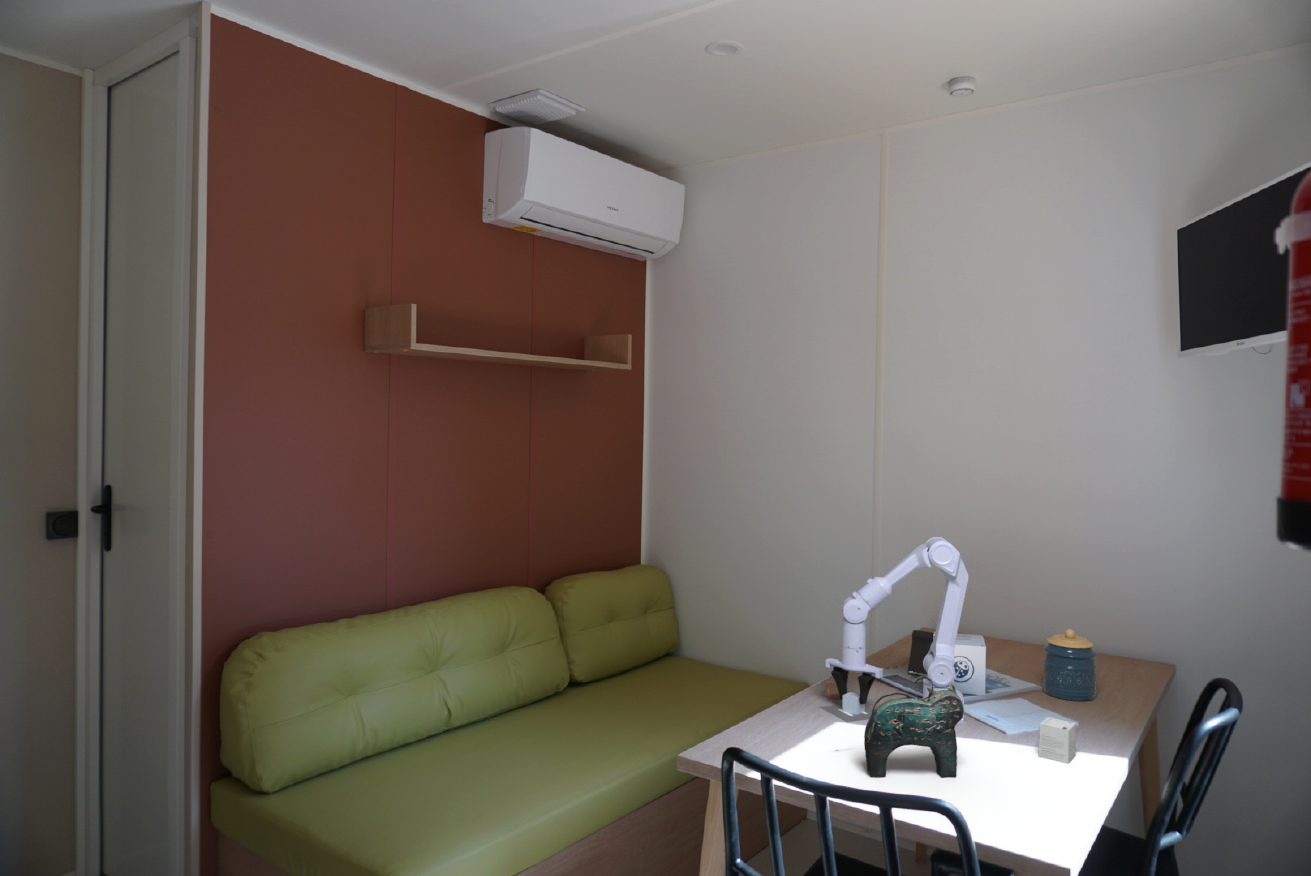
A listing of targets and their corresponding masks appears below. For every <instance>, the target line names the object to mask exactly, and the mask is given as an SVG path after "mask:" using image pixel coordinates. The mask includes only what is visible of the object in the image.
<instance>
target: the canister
mask: <svg viewBox="0 0 1311 876" xmlns="http://www.w3.org/2000/svg"><path fill="white" fill-rule="evenodd" d="M1046 642H1047V643H1048V644H1046V645H1045V646H1044V647H1043V648H1042V649H1043V651H1044V652H1045V655H1044V656H1045V657H1044V658H1043V660H1042V662H1043V681H1042V687H1043V692H1044V693H1045V694H1046V695H1048V696H1051V697H1053V698H1057V699H1061V700H1067V701H1074V702H1085V701H1086V702H1087V701H1092V700H1095V698H1096V694H1097V667H1098V666H1097V664H1096V661H1095V658H1096V657H1097V655H1098V653H1097V651H1095V650H1094V649H1093V647H1094V643H1093V642H1091V641H1090V640H1088V638H1086V637H1084V636H1081V635H1076V631H1075V629H1072V628H1067V629H1065V631H1064V633H1058V634H1054V635H1052V636H1050V637H1048V638H1047V639H1046Z"/></svg>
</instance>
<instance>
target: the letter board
mask: <svg viewBox="0 0 1311 876" xmlns="http://www.w3.org/2000/svg"><path fill="white" fill-rule="evenodd" d="M819 708H820V709H822V710H824V711H825V712H827V713H829V714H831V715H832V716H835V717H837V718H838V719H840V720H842V721H844V722H846V723H852V722H859V721H865V720H869V718H870V716H871V714H872V709H873V707H870V706H868V705H866V704H865V711H864V712H862V713H860V714H858V715H855V714H851V713H847V712H843V703H842V704H841V703H839V704H833V705H824V706H819Z"/></svg>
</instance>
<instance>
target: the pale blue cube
mask: <svg viewBox="0 0 1311 876" xmlns="http://www.w3.org/2000/svg"><path fill="white" fill-rule="evenodd" d="M842 704H843V712H847V713H851V714H855V715H858V714H860V713H862V712H864V711H865V705H866V703H865V704H863V705H862V704H860V693H857V692H853V691H849V692H847V694H844V695H843V700H842Z"/></svg>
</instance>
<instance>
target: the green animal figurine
mask: <svg viewBox="0 0 1311 876" xmlns="http://www.w3.org/2000/svg"><path fill="white" fill-rule="evenodd" d="M922 679H928V680H929V681H930V682H931V684H932V689H931V688H928V687H927V690H928V691H929V696H928V697H925V698H923V697H922V698H921V697H918V696H917V697H916V696H913V695H908V694H906V693H902V692H891V693H886V694H884V695H881V696H880V697H878V698H877V699H876V700H875V702H874V704H873V706H872V714H871V716H870V718H869V719H867V720H868V721H867V722H866V725H865V729H864V736H863V739H864V742H863V743H864V751H865V760H866V770H867V773H868V774H869V776H870V777H871V778H876V779H877V778H878V779H879V778H886V777H887V763H888V758H889V757H890V755H891V754H892V753H893V752H894V751H895V750H897V749H899V748H901V747H904V746H917V747H918V746H919V747H926V748H929V749H930V751H931V752H932V755H933V758H934V763H935V770H936V773H937V774H938V776H939V777H940V778H943V779H944V778H957V768H958V758H957V757H958V756H957V755H958V754H957V753H958V743H957V742H958V741H957V736H956V733H957V732H956V730H955V727H956V726H957V725H958V724H957V723H958V722H959V721H960V720H961V719H962V717H963V714H964V715H965V707H964V708H963V703H962V701H961V699H960V698H959V696H958V695H957V693H956V689H957V688H956V686H955V685H954V686H953V685H951V686H950V688H949V689H948V690H938V691H935V690H933V683H932V681H931V679H929V678H928V677H925V676H918V677H916V678H915V680H914V682H913V683H914V684H917V682H918V681H919V680H922ZM955 688H956V689H955ZM895 695H896V696H899V695H900V696H904V697H900V698H895V699H887V700H886V701H884V702H882V703H880V704H878V703H879V702H880V701H881V700H883V699H884V698H886V697H887V698H888V697H892V696H895ZM927 698H928V699H927ZM876 706H877V707H876Z"/></svg>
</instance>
